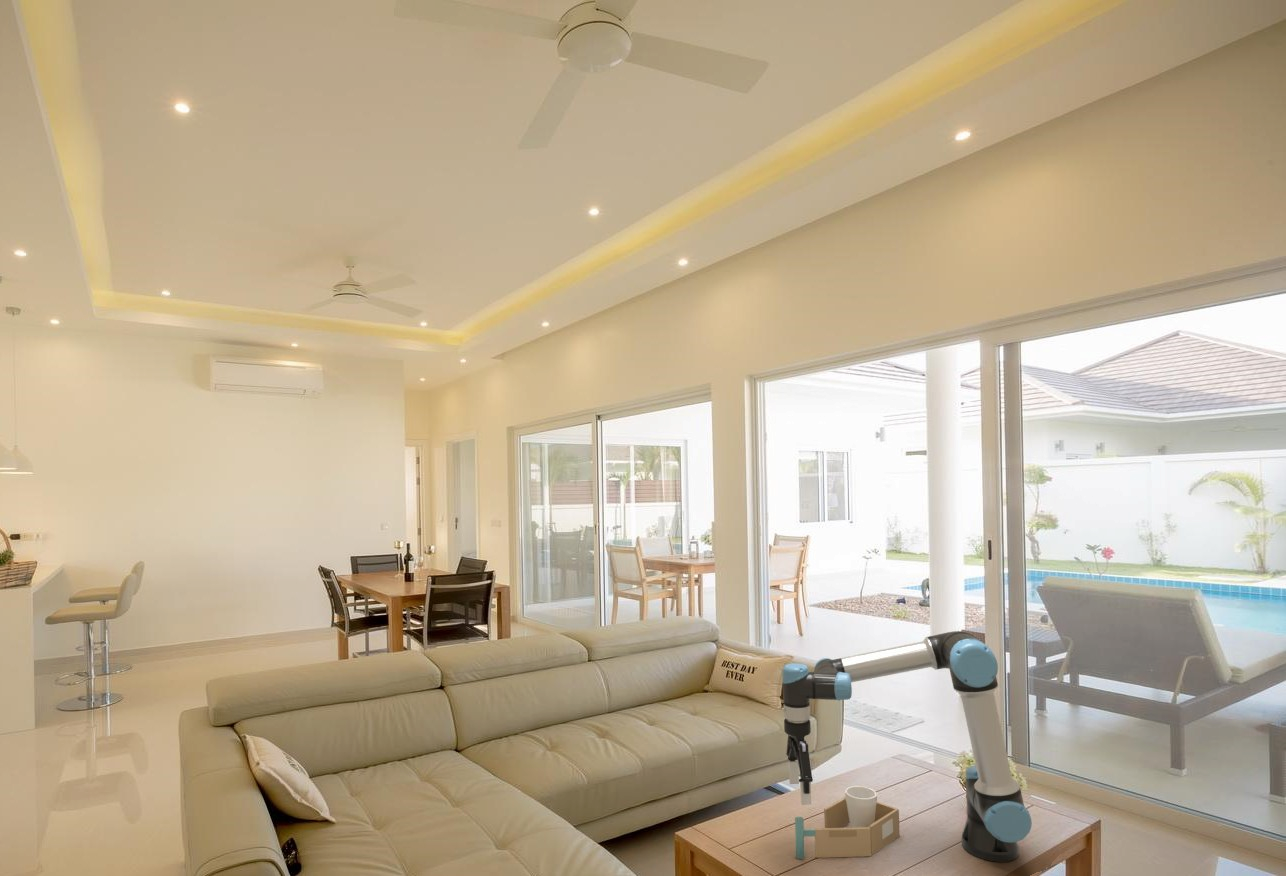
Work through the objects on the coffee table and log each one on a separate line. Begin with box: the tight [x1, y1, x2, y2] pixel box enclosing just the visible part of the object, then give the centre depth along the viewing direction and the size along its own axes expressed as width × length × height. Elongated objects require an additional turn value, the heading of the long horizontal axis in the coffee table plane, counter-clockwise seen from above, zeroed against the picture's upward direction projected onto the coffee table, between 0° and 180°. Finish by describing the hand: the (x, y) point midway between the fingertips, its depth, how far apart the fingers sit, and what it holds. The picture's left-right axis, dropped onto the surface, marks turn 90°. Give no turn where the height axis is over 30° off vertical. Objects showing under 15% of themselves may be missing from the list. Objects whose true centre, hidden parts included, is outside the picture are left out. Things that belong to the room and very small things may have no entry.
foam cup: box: [844, 785, 878, 828], centre depth 223 cm, size 10×9×13 cm
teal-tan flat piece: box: [794, 816, 872, 860], centre depth 211 cm, size 22×2×11 cm, turn 91°
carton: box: [823, 797, 901, 856], centre depth 223 cm, size 16×16×8 cm
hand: (800, 793), depth 211 cm, fingers open, 13 cm apart
